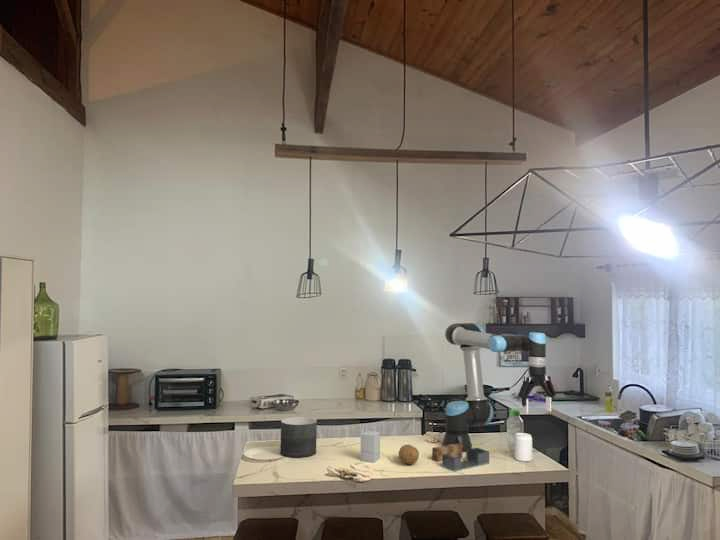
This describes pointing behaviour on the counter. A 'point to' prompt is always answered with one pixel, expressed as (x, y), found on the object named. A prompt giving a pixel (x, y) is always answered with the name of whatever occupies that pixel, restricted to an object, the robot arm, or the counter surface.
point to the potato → (408, 454)
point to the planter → (298, 437)
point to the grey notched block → (472, 460)
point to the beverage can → (523, 447)
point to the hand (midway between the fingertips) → (537, 412)
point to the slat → (446, 451)
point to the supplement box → (370, 446)
